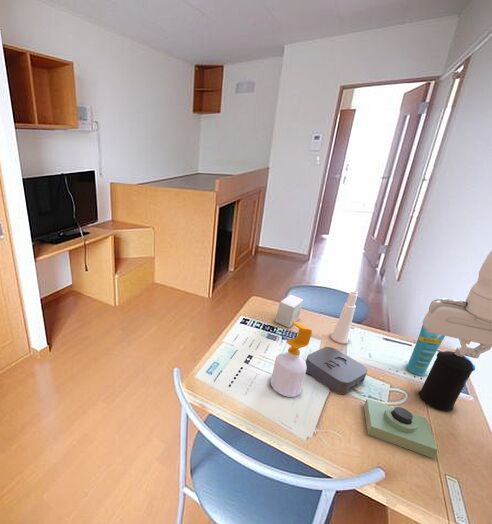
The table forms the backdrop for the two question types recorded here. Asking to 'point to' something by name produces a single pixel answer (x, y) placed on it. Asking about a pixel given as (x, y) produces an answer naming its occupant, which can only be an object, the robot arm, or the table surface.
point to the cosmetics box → (289, 310)
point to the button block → (399, 429)
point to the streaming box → (335, 370)
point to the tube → (424, 351)
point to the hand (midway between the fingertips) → (467, 355)
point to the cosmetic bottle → (345, 319)
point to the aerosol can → (446, 380)
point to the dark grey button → (402, 415)
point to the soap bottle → (291, 365)
